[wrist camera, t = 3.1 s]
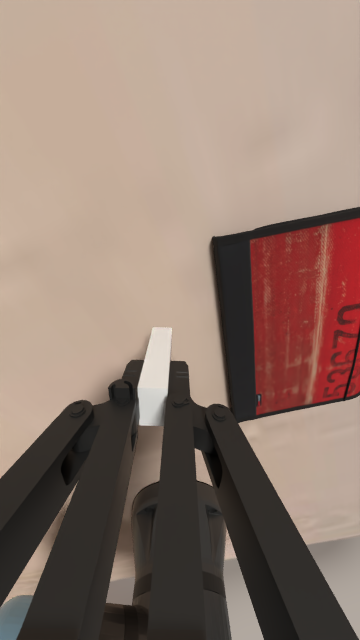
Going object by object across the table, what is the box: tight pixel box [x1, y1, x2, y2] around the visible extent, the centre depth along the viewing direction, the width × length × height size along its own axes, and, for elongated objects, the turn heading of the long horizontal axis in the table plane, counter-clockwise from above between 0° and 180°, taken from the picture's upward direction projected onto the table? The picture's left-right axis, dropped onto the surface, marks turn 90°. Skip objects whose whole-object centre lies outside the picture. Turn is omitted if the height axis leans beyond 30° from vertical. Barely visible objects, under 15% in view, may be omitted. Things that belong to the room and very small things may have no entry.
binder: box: [212, 207, 360, 423], centre depth 21 cm, size 16×2×21 cm
